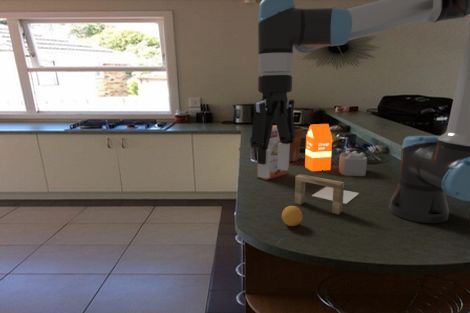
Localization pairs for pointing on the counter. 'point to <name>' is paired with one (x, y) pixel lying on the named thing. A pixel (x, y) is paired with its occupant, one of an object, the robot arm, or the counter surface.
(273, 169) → the cracker box
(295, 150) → the plant pot
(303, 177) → the bridge
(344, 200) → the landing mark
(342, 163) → the grey toy brick
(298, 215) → the ball
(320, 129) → the orange juice
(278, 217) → the counter surface
